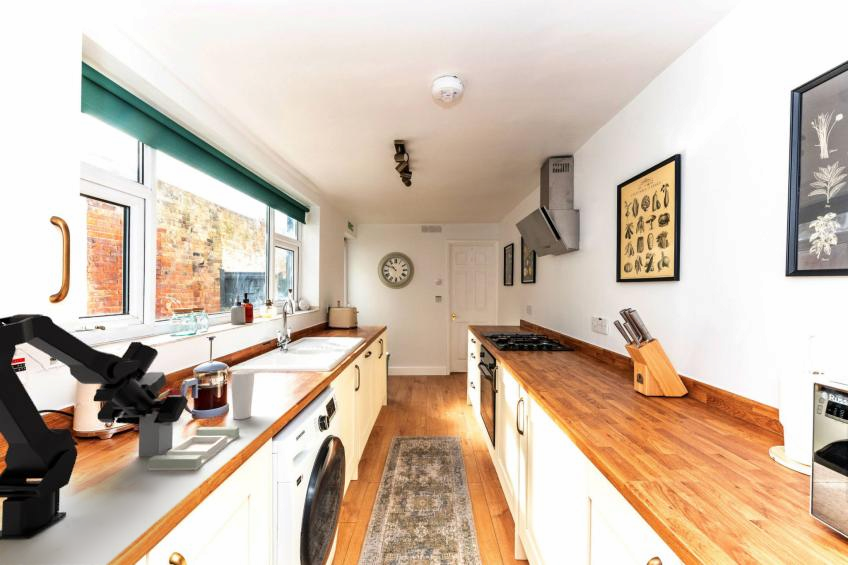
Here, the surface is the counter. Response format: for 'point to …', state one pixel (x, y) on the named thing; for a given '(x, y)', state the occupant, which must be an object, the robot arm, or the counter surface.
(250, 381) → the drinking glass
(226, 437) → the tray
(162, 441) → the tall grey pillar block
